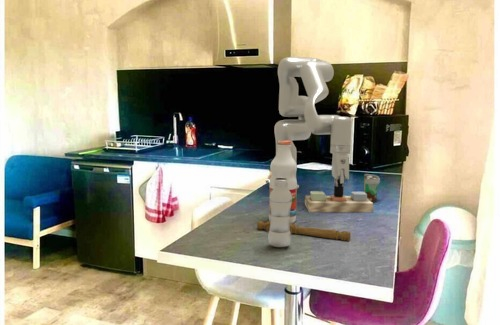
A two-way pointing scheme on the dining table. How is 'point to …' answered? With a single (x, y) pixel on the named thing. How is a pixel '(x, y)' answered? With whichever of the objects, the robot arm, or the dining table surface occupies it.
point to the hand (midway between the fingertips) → (338, 196)
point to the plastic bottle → (280, 214)
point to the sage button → (317, 196)
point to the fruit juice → (284, 174)
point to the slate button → (358, 196)
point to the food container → (371, 186)
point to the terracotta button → (338, 198)
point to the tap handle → (310, 231)
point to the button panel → (338, 205)
